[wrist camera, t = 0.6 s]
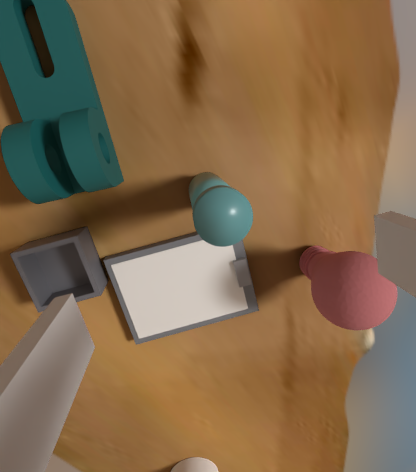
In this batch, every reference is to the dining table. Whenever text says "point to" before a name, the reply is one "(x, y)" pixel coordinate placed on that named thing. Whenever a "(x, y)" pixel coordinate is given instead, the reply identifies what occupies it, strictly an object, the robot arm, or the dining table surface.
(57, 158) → the bracket
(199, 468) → the cylindrical container
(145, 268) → the clipboard
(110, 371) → the dining table surface
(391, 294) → the light bulb
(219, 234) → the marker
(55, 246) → the pen holder
